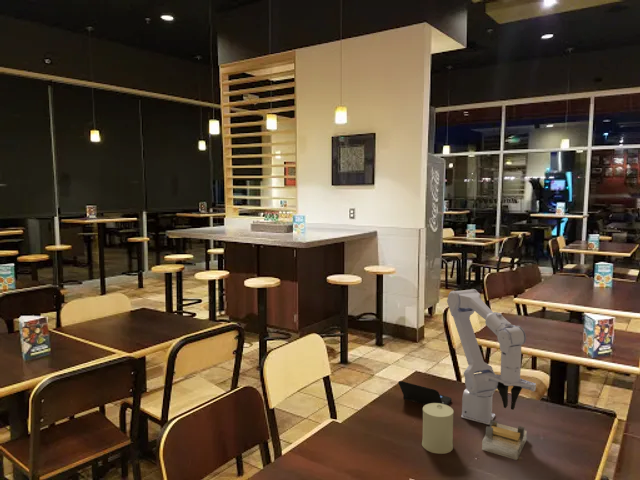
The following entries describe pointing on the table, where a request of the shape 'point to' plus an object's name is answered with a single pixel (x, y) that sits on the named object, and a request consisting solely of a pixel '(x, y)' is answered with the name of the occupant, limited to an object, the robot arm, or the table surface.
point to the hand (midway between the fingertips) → (509, 407)
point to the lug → (521, 431)
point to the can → (437, 428)
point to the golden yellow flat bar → (505, 433)
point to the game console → (422, 394)
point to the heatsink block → (503, 442)
